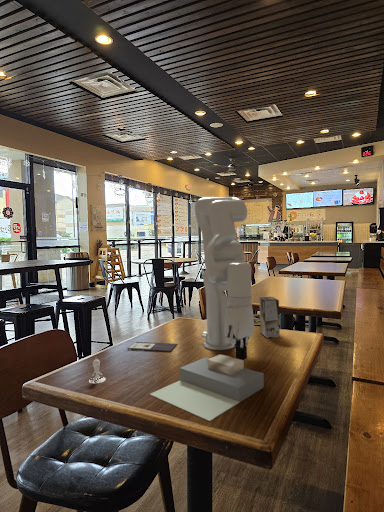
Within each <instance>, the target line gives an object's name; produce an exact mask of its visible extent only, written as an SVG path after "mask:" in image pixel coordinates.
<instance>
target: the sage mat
mask: <svg viewBox="0 0 384 512" xmlns="http://www.w3.org/2000/svg"><path fill="white" fill-rule="evenodd" d="M149 395H150V396H152V397H154V398H156V399H159V400H160V401H163V402H165V403H166V404H170V405H172V406H174V407H176V408H179V409H181V410H183V411H184V412H187V413H190V414H192V415H194V416H196V417H199V418H201V419H203V420H206V421H208V422H211V421H212V420H215V418H217V417H219V416H221V415H222V414H224V413H225V412H227V411H228V410H230V409H232V408H234V407H235V406H237V405H238V404H239V402H238V401H236V400H233V399H230V398H227V397H225V396H222V395H219V394H216V393H214V392H211V391H208V390H206V389H203V388H200V387H197V386H195V385H192V384H189V383H187V382H184V381H181V380H180V379H179V380H178V381H175V382H173V383H171V384H168V385H166V386H164V387H162V388H160V389H158V390H155V391H153V392H151V393H149Z"/></svg>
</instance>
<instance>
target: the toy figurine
mask: <svg viewBox="0 0 384 512" xmlns="http://www.w3.org/2000/svg"><path fill="white" fill-rule="evenodd" d="M91 361H92V360H91ZM100 364H101V361H100V360H99V359H98V357H97V356H95V357H94V360H93V361H92V368H93V370H94V371H93V373H92V374H91V375H92V378H93V380H90V379H89V380H88V382H89V383H90V384H94V385H95V384H101V383H103V382H105V381H106V379H107V378H106V377H104V376H103V373H101V372H100V366H101V365H100ZM100 375H101V376H100ZM93 376H94V377H93ZM100 377H103V378H101V379H99V378H100ZM97 378H98V380H97ZM95 380H97V381H95ZM94 381H95V382H96V383H95V382H94Z"/></svg>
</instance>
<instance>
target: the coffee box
mask: <svg viewBox="0 0 384 512" xmlns="http://www.w3.org/2000/svg"><path fill="white" fill-rule="evenodd" d="M258 300H259V322H260V323H259V325H260V326H259V327H260V329H259V330H260V332H261V333H262V334H263V335H264V336H265V337H266V339H270V338H269V337H274V338H280V337H279V336H280V335H281V334H280V331H281V330H280V299H277V298H275V297H274V296H262V297H259V299H258ZM261 333H260V334H261ZM262 334H261V335H262ZM264 336H263V337H264Z"/></svg>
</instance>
